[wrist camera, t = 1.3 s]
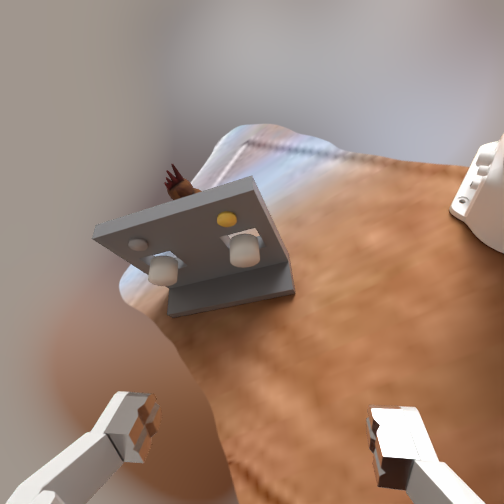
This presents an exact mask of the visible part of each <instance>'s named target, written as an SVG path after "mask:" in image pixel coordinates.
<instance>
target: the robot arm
mask: <svg viewBox="0 0 504 504" xmlns="http://www.w3.org/2000/svg"><path fill="white" fill-rule="evenodd" d="M459 202H463V203H464V204H461V203H459ZM449 211H450V213H451V214H452V215H454V216H455V217H457V218H458V219H460V220H462V221H463V222H465V223H466V224H467V225H468V227H469V228H470V229H471V231H472V232H473V233H474V234H475V236H476V237H477V238H479V239H480V240H481V241H482V242H483V243H485V244H486V245H488V246H489V247H491V248H493V249H495V250H497V251H499V252H502V253H504V133H503V135H502V137H501V138H500V140H499V141H496V142H492V143H488V144H485V145H482V146H481V147H480V148H479V150H478V151H477V153H476V155H475V157H474V159H473V161H472V163H471V165H470V167H469V169H468V171H467V173H466V175H465V177H464V179H463V181H462V183H461V185H460V187H459V189H458V191H457V193H456V195H455V197H454V199H453V201H452V203H451V206H450V208H449ZM156 400H157V398H156V396H155V394H152V393H134V392H119V391H118V392H117V393H116V394H115V395H114V396H113V397H112V399H111V400H110V402H109V404H108V405H107V407H106V409H105V410H104V412H103V413H102V415H101V416H100V418H99V419H98V421H97V423H96V424H95V426H94V427H93V429H92V431H91V432H87V433H85V434H84V435H83V436H82V437H80V438H79V439H78V440H77V441H75V442H74V443H73V444H71V445H70V446H69V447H68V448H66V449H65V450H64V451H63V452H61V453H60V454H58V455H57V456H56V457H55V458H53V459H52V460H51V461H49V463H47V464H46V465H44V466H43V467H42V468H41V469H39V470H38V471H37V472H35V473H34V474H33V475H32V476H30V477H29V478H28V479H26V480H25V481H24V482H23V483H21V484H20V485H19V486H18V487H17V489H16V490H15V491H14V493H13V494H12V496H11V497H10V498H9V500H8V501H7V502H6V504H86V503H87V502H88V501H89V500H90V499H91V498H92V497H93V495H94V494H95V493H96V492H97V491H98V490H99V489H100V488H101V487H102V486H103V485H104V483H106V481H107V480H108V479H109V478H110V477H111V476H112V475H113V473H115V472H116V471H117V470H118V469H119V467H120V466H121V465H122V464H123V462H136V463H144V462H145V459H146V457H147V455H148V452H149V450H150V448H151V445H152V441H151V437H152V436H153V435H154V434H155V433H156V432H157V431H158V429H159V426H160V423H161V418H162V411H161V408H160V406H159V405H158V404H156V403H155V402H156ZM367 412H368V416H369V417H368V418H367V419H366V434H367V440H368V445H369V449H370V450H371V451H372V453H373V454H374V456H373V463H372V464H373V468H374V473H375V477H376V481H377V486H378V487H382V488H390V489H398V490H405V491H406V493H407V494H408V496H409V497H410V499H411V500H412V501H413V503H414V504H485V503H484V502H483V501H482V500H481V499H480V498H479V497H478V496H477V495H476V494H475V493H474V492H473V491H472V490H471V489H470V488H469V487H468V486H467V485H466V484H465V483H464V482H463V481H462V480H461V479H460V478H459V476H458V475H457V474H456V473H455V472H454V471H453V470H452V469H451V468H450V467H449V466H448V465H447V464H446V463H445V462H439V460H438V457H437V455H436V453H435V450H434V448H433V445H432V443H431V440H430V438H429V435H428V433H427V431H426V428H425V426H424V423H423V421H422V418H421V416H420V413H419V411H418V410H417V409H416V408H415V407H405V406H390V405H368V409H367Z"/></svg>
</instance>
